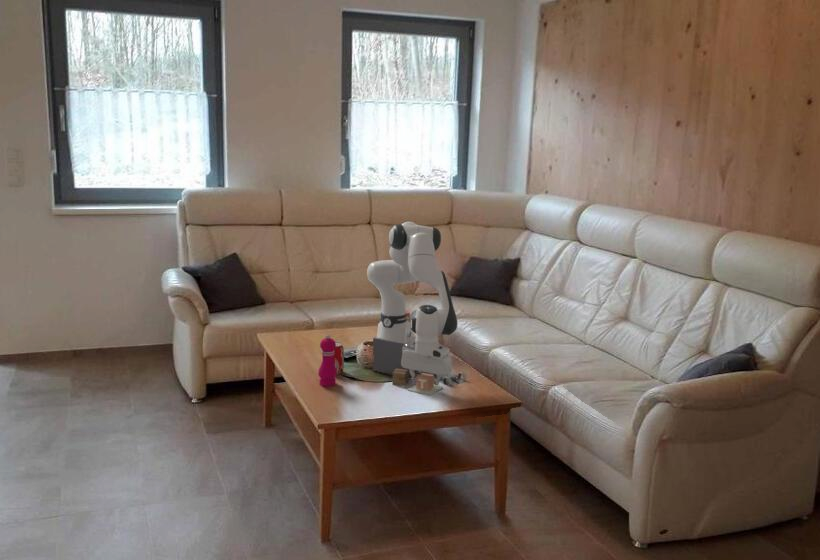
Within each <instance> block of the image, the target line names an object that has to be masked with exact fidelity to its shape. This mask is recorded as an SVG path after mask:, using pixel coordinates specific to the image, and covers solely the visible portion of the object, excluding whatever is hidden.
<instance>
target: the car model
mask: <svg viewBox="0 0 820 560" xmlns="http://www.w3.org/2000/svg"><path fill="white" fill-rule="evenodd" d="M421 373H426V374H431V375H434V380H436V379H437V378H438V377H437V374H432V373H427V372H422V371H418V374H421ZM461 375H462V376H461ZM462 377H463V378H462ZM466 380H467V374H466V373H465V372H464V371H463V372H462V371H461V372H458V374H456V373H455V372H453V371H451V373H450V374H449V375H447V376H442V377H441V379H440V380H439V383H441V384H443V385H444V386H448V387H449V386H451V387H452V386H458V384H463V383H464V382H465V381H466Z"/></svg>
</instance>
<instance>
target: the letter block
mask: <svg viewBox="0 0 820 560" xmlns="http://www.w3.org/2000/svg"><path fill="white" fill-rule="evenodd" d="M415 382H416V384H415V385H416V389H420V390H424V391H429V390H431V389H432V388H433V387H434V375H431V374H426V373H421V374H420V375H418V376H417V380H416V381H415Z"/></svg>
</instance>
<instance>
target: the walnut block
mask: <svg viewBox="0 0 820 560" xmlns="http://www.w3.org/2000/svg"><path fill="white" fill-rule="evenodd" d="M408 380H409V378H408V370H405V369H395V370H394V371H393V375H392V382H391V383H392V385H395V386H403V387H405V386H406V385H407V383H408V382H409V381H408Z"/></svg>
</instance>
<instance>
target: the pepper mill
mask: <svg viewBox="0 0 820 560" xmlns="http://www.w3.org/2000/svg"><path fill="white" fill-rule="evenodd" d="M335 342H336V341H335V339H333V338H331V335H330V334H326V335H325V338H322V339H321V340H320V344H319V347H320V349H321V351H320V353H321V355H322V361H321V363H320V366H319V367H318V373H317V374H318V377H319V378H320V379H319V385H320V386H322V387H333V386H335V385H336V382H337V380H336V377H337V375H338V374H337V370H336V367H335V365H334V362H333V355H334V349H335V347H336V343H335Z"/></svg>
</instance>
